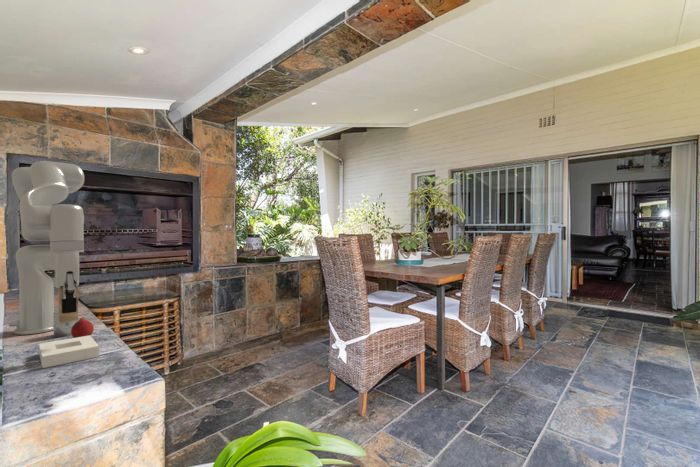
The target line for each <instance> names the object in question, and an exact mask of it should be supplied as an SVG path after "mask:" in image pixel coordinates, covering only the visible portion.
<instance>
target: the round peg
mask: <svg viewBox="0 0 700 467" xmlns="http://www.w3.org/2000/svg"><path fill="white" fill-rule="evenodd" d="M77 321H79V319H78V320H76V321H69V322H62V323H60V322H59V311H54V330H53V337H54V338H63V337H64V338H65V337H70V336H71V337H72V334H71V329H72V327H73V325H74V324H75V323H76V322H77Z"/></svg>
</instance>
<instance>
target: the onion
mask: <svg viewBox="0 0 700 467" xmlns="http://www.w3.org/2000/svg"><path fill="white" fill-rule="evenodd" d="M94 330H95V329H94V324H93V323H92V322H91V321H89V320H88V319H86V317H85V316H81V317H80V319H78V321H77V322H76V323H75V324H74V325H73V327H72V329H71V334H72V335H71V337H72V338H77V337H83V336H89V335H90V336H92V334H93V333H94Z"/></svg>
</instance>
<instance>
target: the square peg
mask: <svg viewBox="0 0 700 467" xmlns="http://www.w3.org/2000/svg"><path fill="white" fill-rule="evenodd" d="M75 286H76V285H75ZM65 287H67V286H65ZM57 289H58V291H57V292H58V312H59V322H60V323H62V322H69V321H76V320H78V321H79V285H78V286H77V287H76V299H77V311H76V312H71V313H62V299H63V286H60V288H57Z"/></svg>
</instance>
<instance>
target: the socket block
mask: <svg viewBox="0 0 700 467" xmlns="http://www.w3.org/2000/svg"><path fill="white" fill-rule="evenodd" d="M38 356H39V359H40V364H41V367H42V369H47V368H50V367H55V366H56V367H57V366H60V365H61V366H62V365H66V364H70V363H74V362H80V361H84V360H89V359H93V358H98V357H100V345H99V344H98V343H97V342H96V340H94V338H93V337H92V335H89V336H83V337H77V338H73V337H71V338H68V339H67V338H66V339H60V340H54V341H53V340H52V341H48V342H42V343H38Z"/></svg>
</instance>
